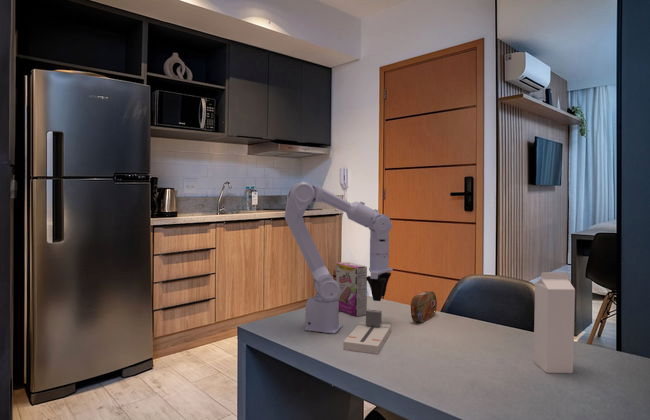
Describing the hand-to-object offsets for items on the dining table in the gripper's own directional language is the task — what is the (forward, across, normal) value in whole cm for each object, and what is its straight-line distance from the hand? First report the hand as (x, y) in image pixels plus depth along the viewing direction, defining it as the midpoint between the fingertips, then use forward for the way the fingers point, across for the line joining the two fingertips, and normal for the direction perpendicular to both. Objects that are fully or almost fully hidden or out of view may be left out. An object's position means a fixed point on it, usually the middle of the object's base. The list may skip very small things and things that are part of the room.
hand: (379, 298), depth 123 cm
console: (+8, -13, 0) cm, 15 cm away
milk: (+9, -16, -44) cm, 48 cm away
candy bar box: (+9, +11, +12) cm, 18 cm away
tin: (+9, +12, -12) cm, 19 cm away
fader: (+6, -7, 0) cm, 9 cm away
